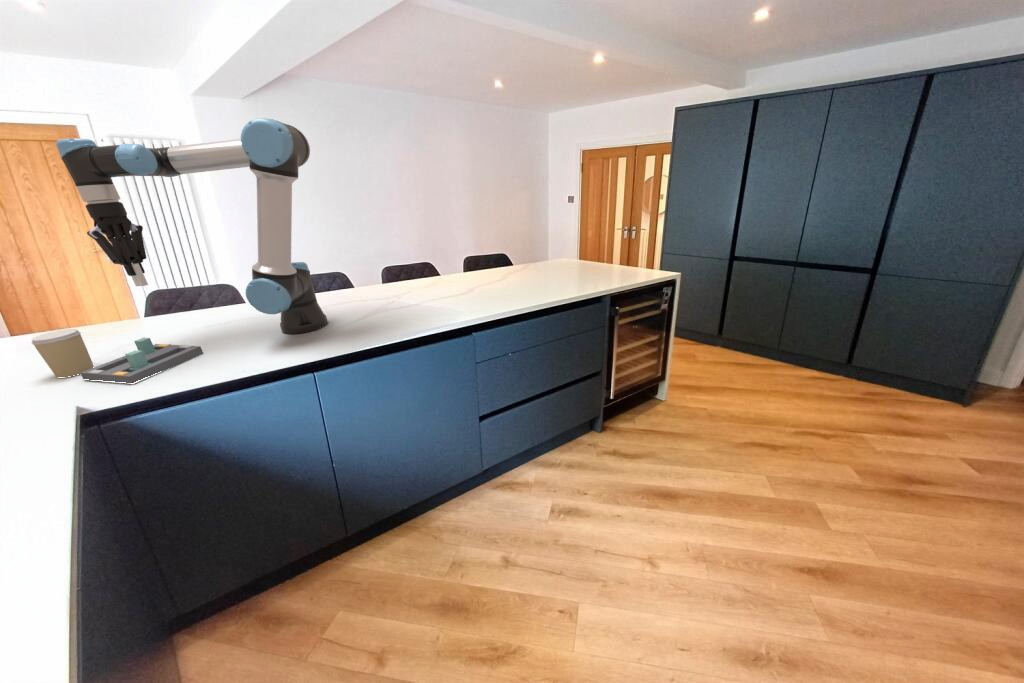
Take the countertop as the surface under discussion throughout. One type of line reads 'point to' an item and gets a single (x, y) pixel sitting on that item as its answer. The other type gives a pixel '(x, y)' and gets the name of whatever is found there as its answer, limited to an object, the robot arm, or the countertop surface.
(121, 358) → the switch board
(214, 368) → the countertop surface
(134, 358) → the tab
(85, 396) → the countertop surface
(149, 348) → the tab
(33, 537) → the countertop surface
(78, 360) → the coffee cup
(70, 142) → the robot arm
